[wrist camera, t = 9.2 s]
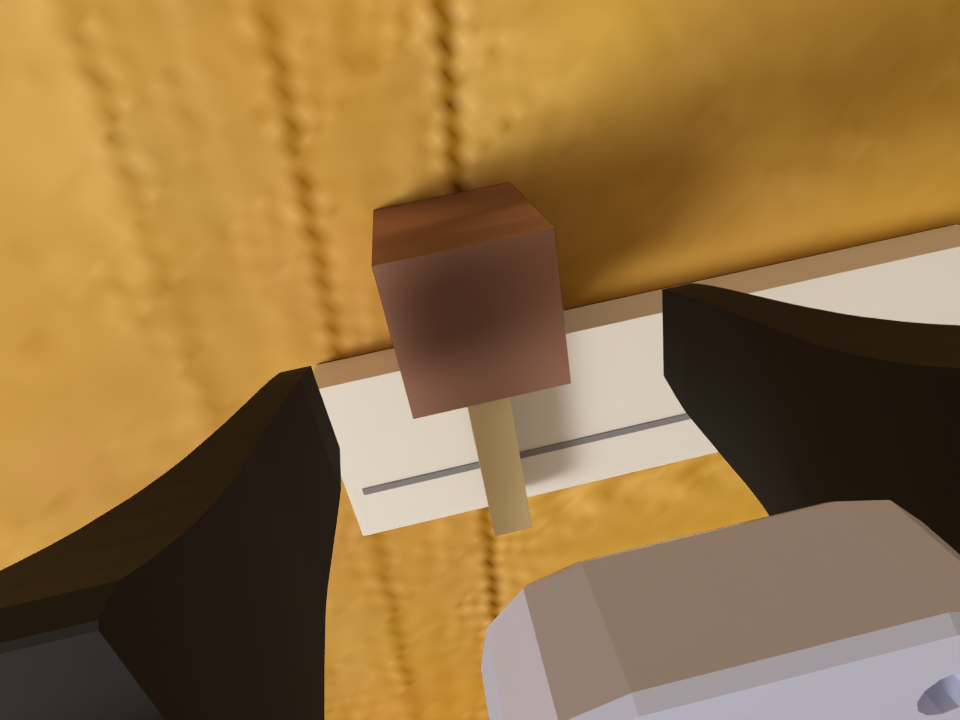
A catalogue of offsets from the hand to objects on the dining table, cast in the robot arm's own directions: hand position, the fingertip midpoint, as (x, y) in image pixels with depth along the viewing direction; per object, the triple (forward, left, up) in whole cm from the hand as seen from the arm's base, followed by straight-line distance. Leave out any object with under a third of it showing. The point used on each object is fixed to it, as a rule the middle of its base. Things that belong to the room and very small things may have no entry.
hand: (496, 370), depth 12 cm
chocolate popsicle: (0, +3, -7) cm, 8 cm away
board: (-6, +5, -7) cm, 11 cm away
